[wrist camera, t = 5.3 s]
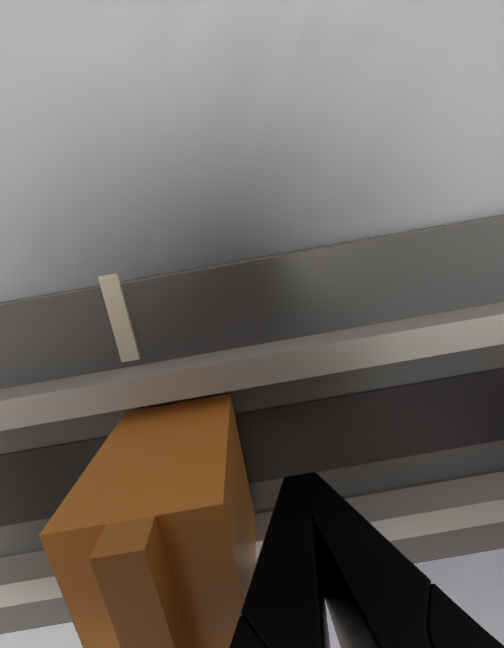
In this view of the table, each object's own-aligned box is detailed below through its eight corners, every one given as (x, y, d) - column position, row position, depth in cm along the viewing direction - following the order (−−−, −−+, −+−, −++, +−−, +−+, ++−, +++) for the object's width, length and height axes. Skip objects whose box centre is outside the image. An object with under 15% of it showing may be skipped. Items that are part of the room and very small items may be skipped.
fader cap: (253, 510, 10) (265, 726, 5) (158, 527, 10) (92, 754, 5) (230, 393, 9) (220, 536, 5) (125, 412, 9) (12, 572, 5)
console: (569, 491, 13) (664, 561, 10) (36, 582, 13) (-22, 678, 10) (590, 189, 10) (728, 166, 7) (-79, 306, 10) (-203, 329, 7)
